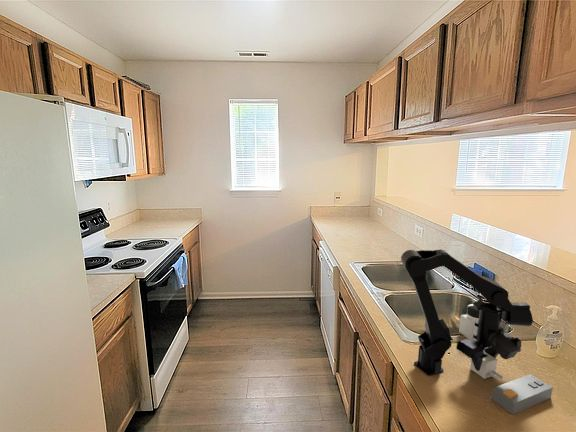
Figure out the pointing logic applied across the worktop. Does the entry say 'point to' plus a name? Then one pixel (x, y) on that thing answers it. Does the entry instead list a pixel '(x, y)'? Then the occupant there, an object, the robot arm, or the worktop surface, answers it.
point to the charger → (487, 367)
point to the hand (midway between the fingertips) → (482, 368)
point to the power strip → (521, 393)
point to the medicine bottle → (469, 322)
